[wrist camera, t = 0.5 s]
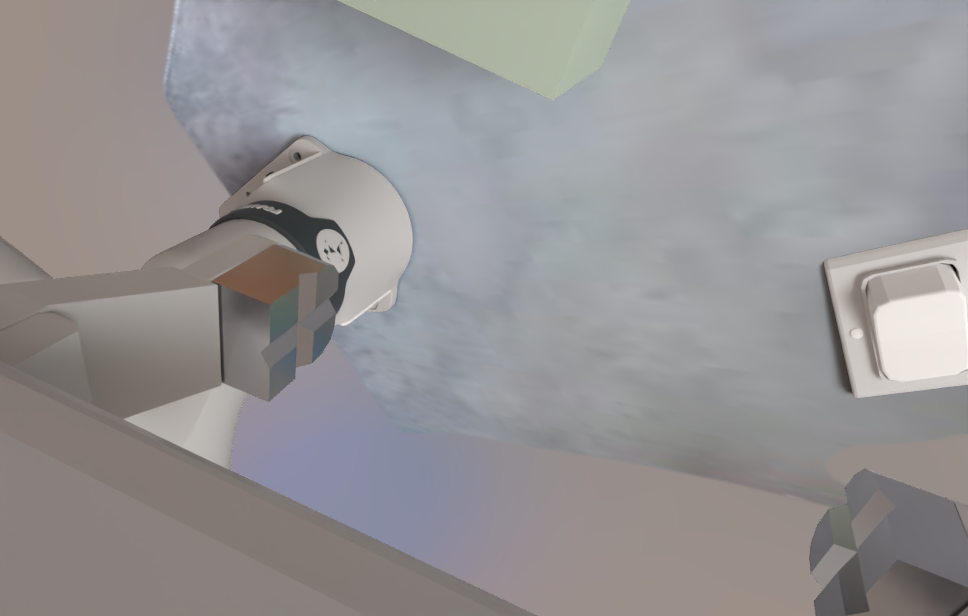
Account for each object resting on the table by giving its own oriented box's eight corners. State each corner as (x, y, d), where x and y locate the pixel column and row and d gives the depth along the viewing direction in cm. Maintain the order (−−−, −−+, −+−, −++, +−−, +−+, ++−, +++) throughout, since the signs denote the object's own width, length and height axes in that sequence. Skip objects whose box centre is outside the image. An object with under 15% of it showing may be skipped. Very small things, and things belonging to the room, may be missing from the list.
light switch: (1008, 233, 41) (1031, 398, 44) (987, 217, 45) (1010, 370, 48) (826, 271, 46) (859, 417, 49) (820, 254, 50) (851, 390, 53)
